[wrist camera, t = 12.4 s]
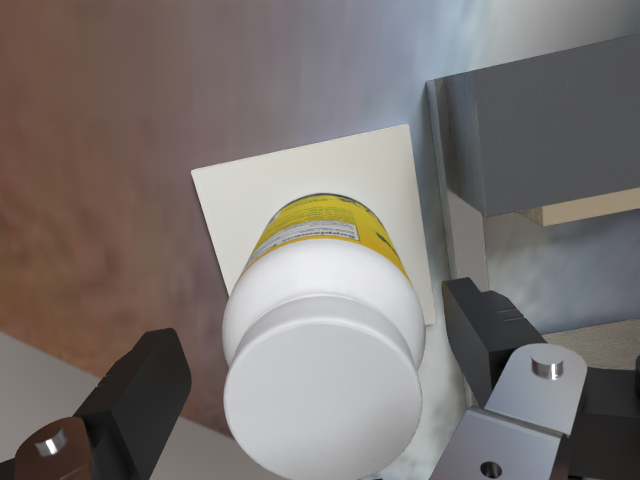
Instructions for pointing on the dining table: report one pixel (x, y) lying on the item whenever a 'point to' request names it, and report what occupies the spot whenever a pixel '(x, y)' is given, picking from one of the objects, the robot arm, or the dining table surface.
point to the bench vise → (541, 161)
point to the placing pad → (319, 176)
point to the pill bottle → (323, 344)
